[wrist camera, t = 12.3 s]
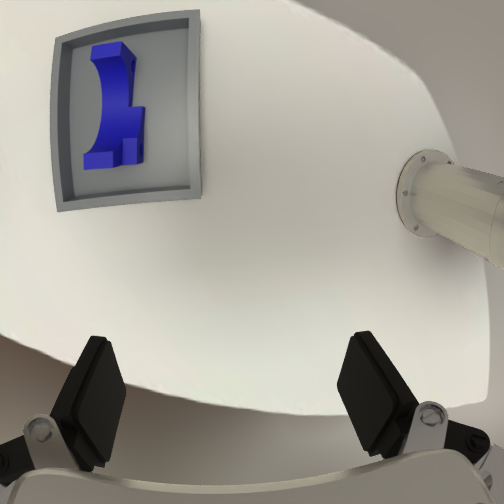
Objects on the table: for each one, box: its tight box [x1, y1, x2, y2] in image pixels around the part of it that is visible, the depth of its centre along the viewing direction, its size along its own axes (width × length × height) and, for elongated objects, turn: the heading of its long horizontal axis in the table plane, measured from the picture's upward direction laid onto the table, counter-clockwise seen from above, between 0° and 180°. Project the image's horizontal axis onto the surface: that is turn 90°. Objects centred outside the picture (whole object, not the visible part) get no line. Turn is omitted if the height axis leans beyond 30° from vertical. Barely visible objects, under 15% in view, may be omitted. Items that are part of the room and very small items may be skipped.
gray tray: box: [50, 9, 202, 212], centre depth 25 cm, size 16×20×4 cm
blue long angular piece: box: [83, 41, 145, 170], centre depth 23 cm, size 12×4×6 cm, turn 177°
